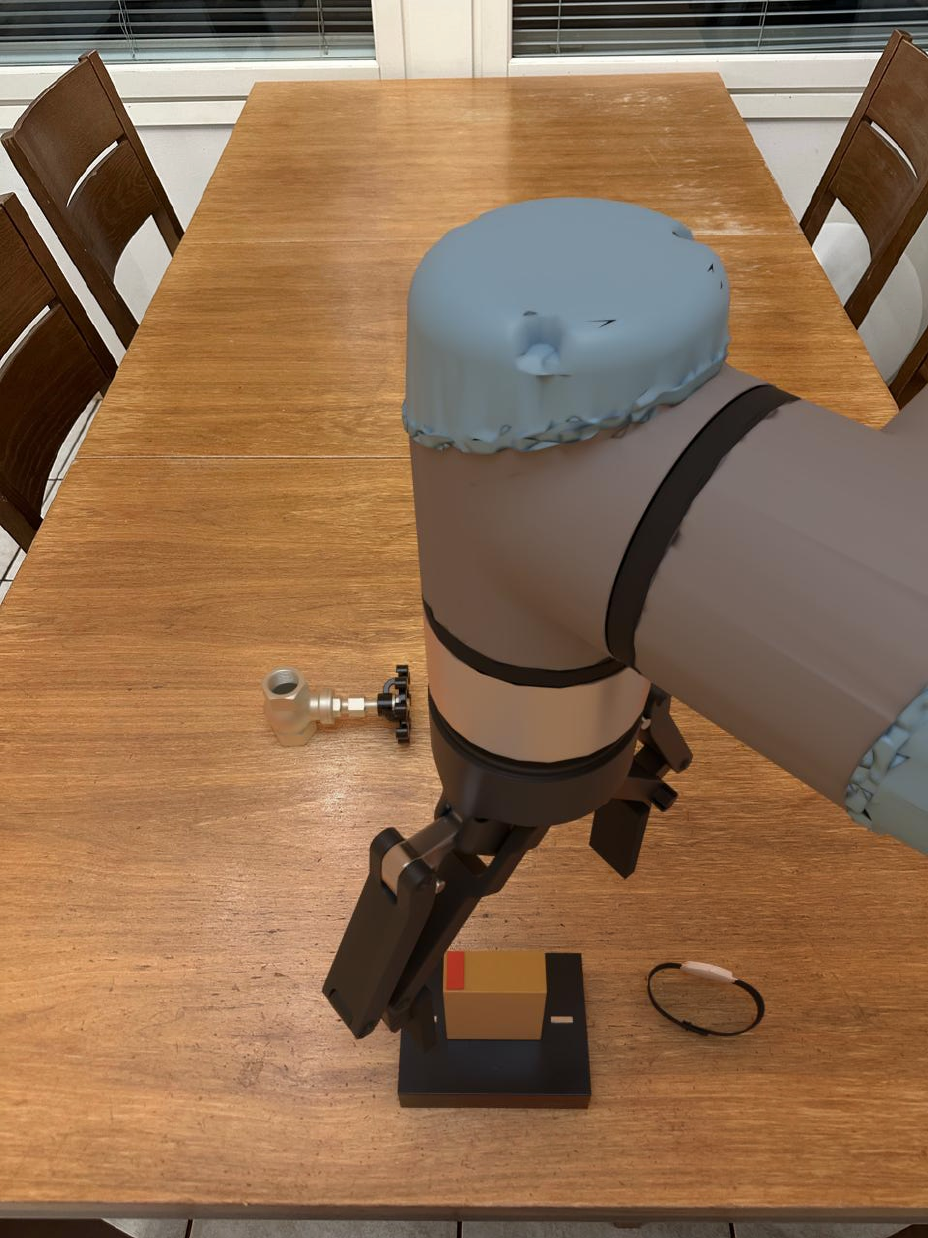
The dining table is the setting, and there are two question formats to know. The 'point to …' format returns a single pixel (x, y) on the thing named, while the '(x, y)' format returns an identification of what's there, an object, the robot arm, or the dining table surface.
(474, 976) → the lock knob
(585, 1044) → the plate
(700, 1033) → the watch
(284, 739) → the valve
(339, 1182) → the dining table surface
